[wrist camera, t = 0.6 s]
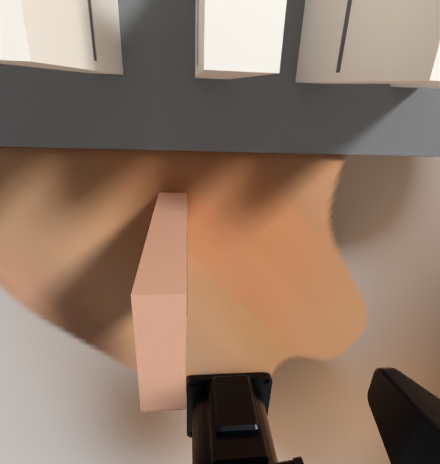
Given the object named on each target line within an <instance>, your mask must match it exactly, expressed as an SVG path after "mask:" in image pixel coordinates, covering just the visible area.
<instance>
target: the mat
mask: <svg viewBox="0 0 440 464" xmlns="http://www.w3.org/2000/svg"><path fill="white" fill-rule="evenodd" d="M304 7H305V0H287V4H286V13H285V23H284V33H283V43H282V52H281V62H280V72H279V73H278V74H270V75H261V76H253V77H244V78H235V79H208V78H195V9H196V0H118V10H119V24H120V37H121V51H122V64H123V75H119V74H97V73H83V72H73V71H64V70H55V69H46V68H37V67H27V66H18V65H9V64H0V146H3V147H46V148H88V149H131V150H173V151H216V152H258V153H301V154H343V155H386V156H429V157H430V156H431V157H440V88H408V87H390V84H319V83H297V82H295V81H296V72H297V64H298V56H299V48H300V40H301V31H302V23H303V15H304Z"/></svg>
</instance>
